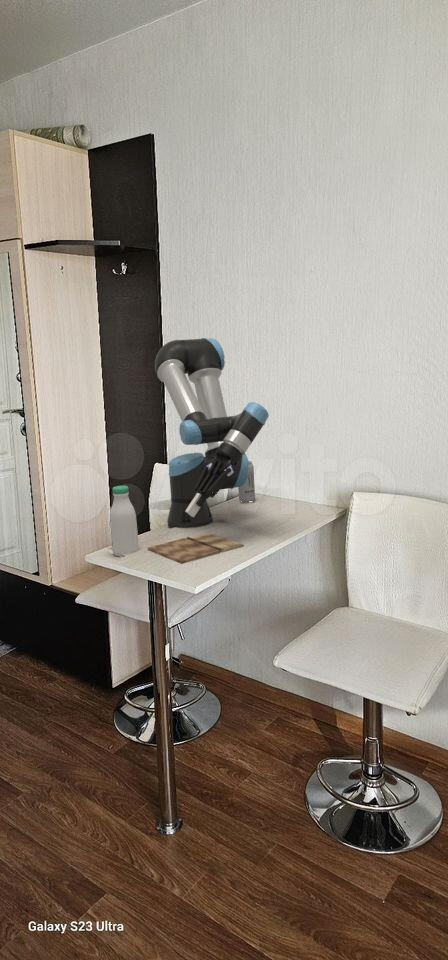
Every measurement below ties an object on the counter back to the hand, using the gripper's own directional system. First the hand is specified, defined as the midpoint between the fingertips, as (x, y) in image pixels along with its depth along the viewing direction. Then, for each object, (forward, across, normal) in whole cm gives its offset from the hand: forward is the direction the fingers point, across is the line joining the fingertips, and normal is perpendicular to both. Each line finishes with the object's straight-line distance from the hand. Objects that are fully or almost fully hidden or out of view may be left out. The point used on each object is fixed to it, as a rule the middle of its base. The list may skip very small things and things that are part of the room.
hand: (189, 514), depth 201 cm
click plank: (+5, 0, -9) cm, 11 cm away
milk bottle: (+18, +14, +2) cm, 23 cm away
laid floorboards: (+2, 0, -14) cm, 14 cm away
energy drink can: (-26, +37, -44) cm, 63 cm away
